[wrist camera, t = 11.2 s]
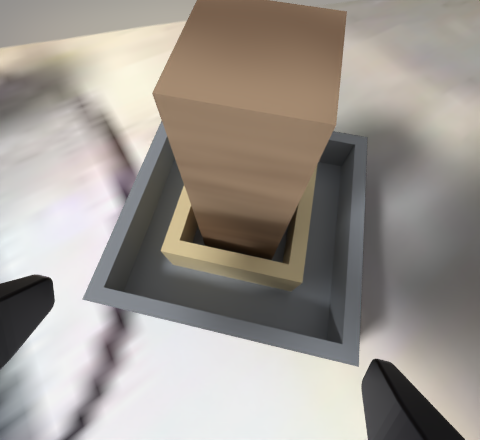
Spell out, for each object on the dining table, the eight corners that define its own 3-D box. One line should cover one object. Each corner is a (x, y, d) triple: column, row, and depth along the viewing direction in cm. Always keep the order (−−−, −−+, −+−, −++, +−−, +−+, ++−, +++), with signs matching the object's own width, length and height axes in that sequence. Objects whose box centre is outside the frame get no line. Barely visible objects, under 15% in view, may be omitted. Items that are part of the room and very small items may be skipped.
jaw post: (271, 260, 17) (335, 125, 6) (205, 246, 17) (152, 93, 6) (281, 200, 19) (346, 11, 8) (221, 188, 19) (201, -10, 8)
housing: (333, 359, 16) (363, 367, 12) (111, 306, 17) (77, 298, 13) (347, 167, 21) (370, 132, 18) (179, 135, 22) (168, 96, 19)
